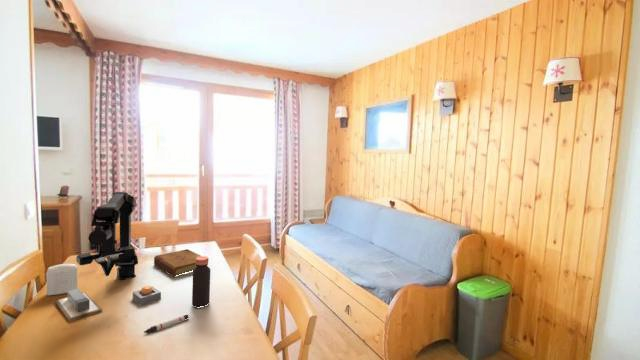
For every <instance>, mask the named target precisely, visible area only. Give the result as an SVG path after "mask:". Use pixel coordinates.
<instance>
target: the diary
mask: <svg viewBox="0 0 640 360" xmlns="http://www.w3.org/2000/svg"><path fill="white" fill-rule="evenodd" d="M200 256H202V255H200V254H198V253H196V252H195V251H192V250H190V249H182V250H178V251H177V250H176V251H172V252H168V253H162V254H158V255H155V256H154V257H153V265H154V266H155V267H158V269H161V270H162V271H163V272H165V273H166V274H168V273H169V274H168V275H170V276H172V277H174V278H176V277H175V276H176V275H179V274H182V273H185V272H189V271H192V270H194V268H195V267H196V258H197V257H200ZM208 261H209V258H208Z"/></svg>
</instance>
